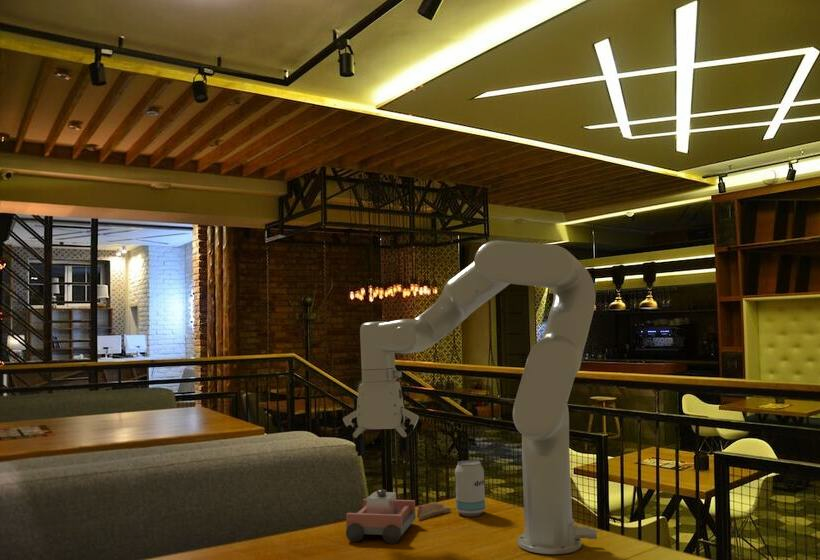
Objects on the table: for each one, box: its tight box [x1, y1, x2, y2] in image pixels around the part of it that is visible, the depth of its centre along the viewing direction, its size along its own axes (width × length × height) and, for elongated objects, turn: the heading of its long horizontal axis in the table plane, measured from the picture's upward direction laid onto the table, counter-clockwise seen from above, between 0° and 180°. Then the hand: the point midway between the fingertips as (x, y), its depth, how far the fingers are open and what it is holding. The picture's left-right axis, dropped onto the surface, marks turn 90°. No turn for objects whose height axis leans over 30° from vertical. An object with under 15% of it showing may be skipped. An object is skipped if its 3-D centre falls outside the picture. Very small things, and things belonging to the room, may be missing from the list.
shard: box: [417, 501, 452, 521], centre depth 160 cm, size 11×8×2 cm
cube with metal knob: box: [365, 489, 397, 514], centre depth 146 cm, size 5×6×6 cm
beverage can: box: [454, 459, 486, 517], centre depth 159 cm, size 7×7×12 cm
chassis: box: [345, 498, 416, 545], centre depth 146 cm, size 12×15×6 cm
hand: (382, 455), depth 147 cm, fingers open, 9 cm apart
